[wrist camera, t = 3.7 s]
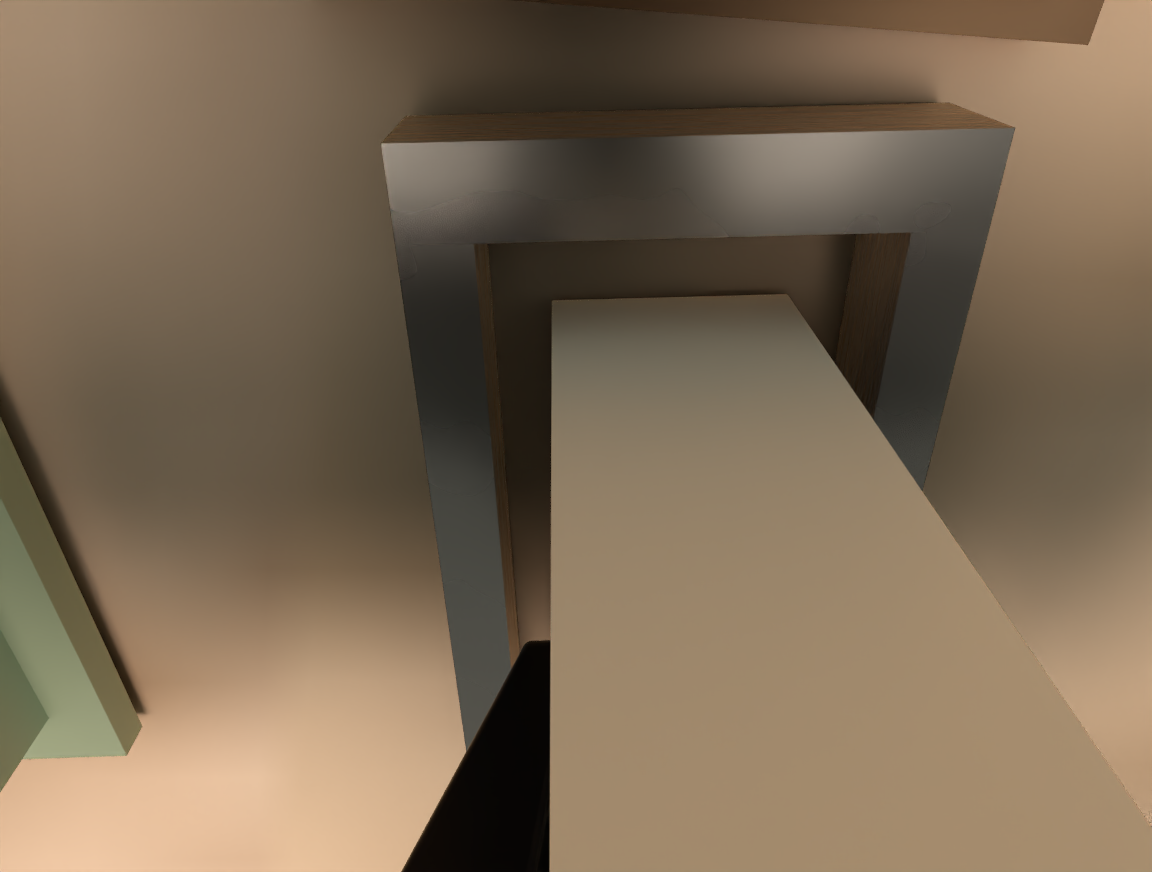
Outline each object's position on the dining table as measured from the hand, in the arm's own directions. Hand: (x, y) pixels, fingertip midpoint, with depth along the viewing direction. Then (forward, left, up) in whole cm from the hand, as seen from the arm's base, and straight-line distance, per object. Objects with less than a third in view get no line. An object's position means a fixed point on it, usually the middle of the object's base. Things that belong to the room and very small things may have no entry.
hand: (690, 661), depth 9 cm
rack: (0, 0, -3) cm, 3 cm away
